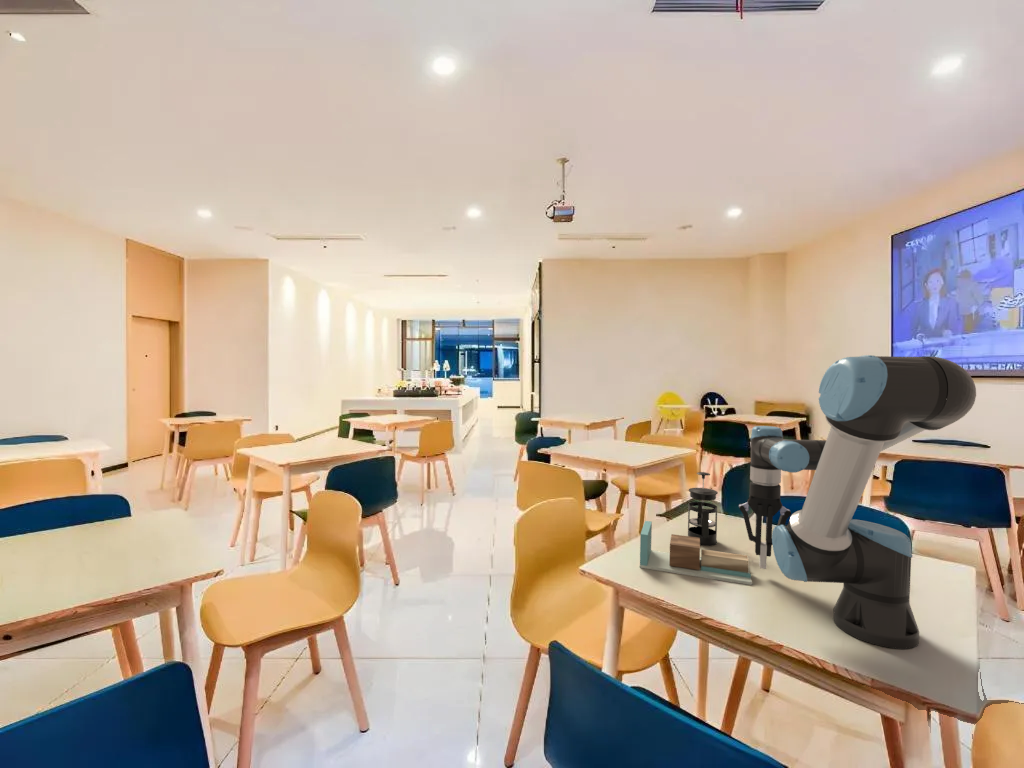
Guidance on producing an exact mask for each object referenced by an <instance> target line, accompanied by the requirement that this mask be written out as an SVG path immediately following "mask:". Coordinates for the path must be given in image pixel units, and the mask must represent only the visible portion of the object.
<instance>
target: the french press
mask: <svg viewBox="0 0 1024 768" xmlns="http://www.w3.org/2000/svg"><path fill="white" fill-rule="evenodd" d="M696 475H699V476H701V479H702V487H692V488H691V487H690V488H689V489H688V492H689V497H691V499H694V500H699V501H691V502H688V504H687V505H688V509H687V510H688V511H687V513H688V514H687V520H688V521H687V536H690V537H697V538H700V546H703V547H704V546H707V547H710V546H715V545H717V544H718V540H717V539H718V538H717V532H718V531H717V529H718V506H717V505H716V504H714V503H712V502H711V501H715V500H716V499H717V495H718V491H717V490H715V489H711V488H708V487H707V488H706V487H705V486H704V485H705V479H706V476H710V475H711V473H709V472H705V471H699V472H696ZM704 501H705V502H704ZM706 501H707V502H706ZM708 501H710V502H711V503H710V502H708ZM694 506H695V507H694ZM704 507H707V508H704ZM690 511H692V512H695V513H697V517H692V518H690V513H691V512H690ZM710 514H715V520H713V519H710ZM690 525H692V526H690ZM712 528H714V529H712Z"/></svg>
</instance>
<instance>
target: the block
mask: <svg viewBox="0 0 1024 768" xmlns="http://www.w3.org/2000/svg"><path fill="white" fill-rule="evenodd" d="M669 553H670V564H669V566H675V567H682V568H688V569H695V570H699V569H700V557H701V545H700V538H697V537H690V536H688V535H682V534H681V535H679V534H672V533H671V536H670V542H669Z"/></svg>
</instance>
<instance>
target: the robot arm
mask: <svg viewBox="0 0 1024 768" xmlns="http://www.w3.org/2000/svg"><path fill="white" fill-rule="evenodd" d="M818 393H819V394H820V396H819V397H818V404H819V407H820V410H821V411H822V413H823V414H824V415H825V420H826V422H827V424H829V426H830V429H829V431H828V435H827V438H826V439H825V440H824V439H788V438H784V435H783V429H782V428H780V427H778V426H772V425H771V426H770V425H755V426H753V427H752V429H751V436H750V465H749V466H750V470H749V474H750V475H749V480H750V482H749V496H748V498H747V500H746V501H747V502H745V503H739V504H738V509H739V510H740V512H741V513H742V515H743V520H744V524H745V527H746V533H747V536H748V540H749V541H751V542H754V543H755V545H754V547H755V548H754V552H755V555H756V556H759V557H758V558H759V559H758V560H759V561H758V566H759V568H760V569H762V570H767V557H771V556H772V550H773V554H774V558H775V561H776V564H777V566H778V568H779V570H780V571H781V573H782V574H783V575H784V577H786V578H788V579H789V580H791V581H798V582H799V581H800V582H803V583H835V584H836V583H837V584H843V587H842V590H841V592H840V594H839V596H838V598H837V601H836V603H835V605H834V607H833V613H832V617H833V618H832V621H833V622H834V624H835V626H837V627H838V628H839V629H841V631H843V632H845V633H846V634H848V635H850V636H852V637H854V638H856V639H859V640H860V641H862V642H863V641H864V642H865V643H869V644H871V645H872V644H873V645H876V646H880V647H885V648H890V649H899V650H900V649H901V650H903V649H906V650H907V649H912V648H915V647H917V646H918V645H919V643H920V631H919V626H918V623H917V621H916V619H915V615H914V613H913V609H912V607H911V604H910V602H911V601H910V596H911V595H910V594H911V572H912V571H911V570H912V569H911V568H912V558H913V551H912V542H911V539H910V537H908V535H906V534H905V533H904V532H902V531H900V530H897V529H895V528H892V527H890V526H886V525H883V524H880V523H875V522H872V521H867V520H860V519H856V518H855V519H853V516H854V515H855V512H856V510H857V508H858V505H859V503H860V500H861V498H862V495H863V494H864V492H865V491H864V490H865V489H866V486H867V484H868V482H869V480H870V477H871V474H872V472H873V470H874V468H875V465H876V462H877V461H878V459H879V457H880V454H881V452H883V451H885V450H887V449H890V448H891V447H893V446H896V445H897V444H899V443H901V442H903V441H905V440H907V439H911V437H914V436H916V435H918V434H920V433H922V432H924V431H939V430H941V429H944V428H945V427H947V426H950V425H952V424H954V423H956V422H957V421H959V420H960V419H962V418H964V417H965V416H966V415H967V414H968V413H969V412H970V411H971V410H972V409H973V406H974V404H975V402H976V397H977V388H976V385H975V382H974V380H973V378H972V376H971V375H970V373H969V372H968V371H967V370H966V369H965V368H963V367H962V366H961V365H959V364H957V363H956V362H954V361H951V360H949V359H946V358H942V357H937V356H925V355H924V356H888V355H887V356H878V355H877V356H876V355H869V354H868V355H867V354H866V355H863V354H862V355H859V356H847V357H843V358H841V359H838V360H836V361H835V362H833V363H832V364H831V365H830V366H829V367H828V368H827V369H826V371H825V372H824V374H823V376H822V378H821V381H820V384H819V389H818ZM803 470H804V471H815V472H814V474H813V477H812V480H811V483H810V486H809V488H808V491H807V494H806V496H805V501H804V503H803V505H802V509H800V510H797V511H795V512H793V513H792V512H791V510H790V509H789V508H786V507H785V506H783V503H782V502H781V490H782V489H781V488H782V487H781V485H780V484H781V483H782V471H783V472H787V473H790V474H791V473H793V474H794V473H799V472H801V471H803ZM749 507H750V509H751V510H752V511H753V513H754V514H755V531H754V533H755V534H753V530H752V526H751V520H750V518H749V517H750V516H749V514H748V512H749ZM778 512H780V513H779V514H780V515H779V519H778V522H777V525H775V526H774V528H773V521H774V519H773V518H774V517H775V516H776V514H777V513H778ZM763 517H765V542H764V541H762V526H763V525H762V524H763V523H762V522H763ZM787 519H789V521H788V524H787V523H786V522H787ZM786 524H787V525H786Z"/></svg>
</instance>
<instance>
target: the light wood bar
mask: <svg viewBox="0 0 1024 768" xmlns="http://www.w3.org/2000/svg"><path fill="white" fill-rule="evenodd" d="M700 557H701V566H705V567H712V568H719V569H725V570H732V571H739V572H746V573H748V569H749V558H748V555H745V554H739V553H730V552H724V551H723V552H722V551H717V550H710V549H702V548H700Z"/></svg>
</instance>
